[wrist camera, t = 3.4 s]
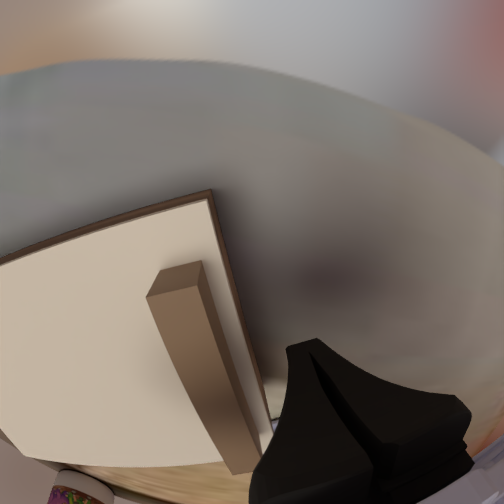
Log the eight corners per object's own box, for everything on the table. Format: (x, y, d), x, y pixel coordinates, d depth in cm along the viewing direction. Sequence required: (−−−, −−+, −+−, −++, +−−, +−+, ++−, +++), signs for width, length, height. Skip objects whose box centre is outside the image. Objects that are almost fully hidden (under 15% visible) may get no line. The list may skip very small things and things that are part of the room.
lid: (275, 440, 15) (285, 482, 12) (27, 449, 14) (15, 476, 11) (207, 198, 11) (202, 210, 8) (-68, 294, 10) (-95, 313, 7)
